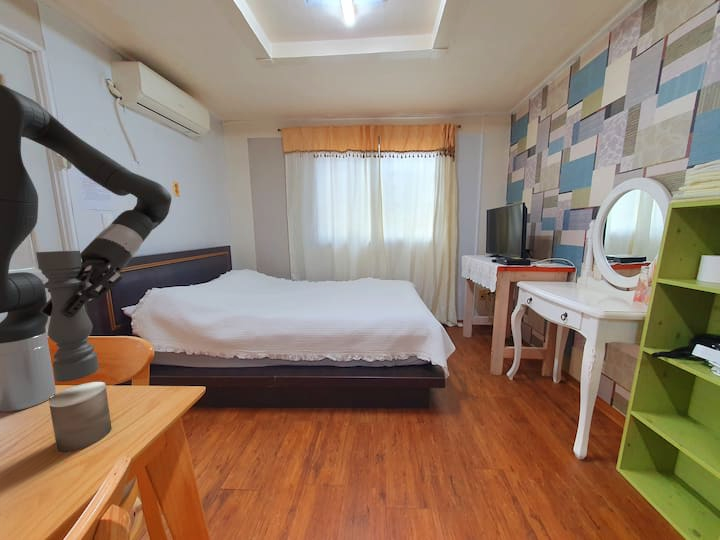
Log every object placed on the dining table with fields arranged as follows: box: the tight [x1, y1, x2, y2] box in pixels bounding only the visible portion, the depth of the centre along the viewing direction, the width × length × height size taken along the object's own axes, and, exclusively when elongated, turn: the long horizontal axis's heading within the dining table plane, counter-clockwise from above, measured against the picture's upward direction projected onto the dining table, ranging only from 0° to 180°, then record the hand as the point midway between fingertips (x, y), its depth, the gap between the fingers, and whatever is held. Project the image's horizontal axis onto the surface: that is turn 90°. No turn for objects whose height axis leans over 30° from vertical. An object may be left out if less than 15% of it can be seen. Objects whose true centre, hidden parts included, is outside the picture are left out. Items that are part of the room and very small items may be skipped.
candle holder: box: [35, 250, 100, 383], centre depth 53 cm, size 6×6×25 cm
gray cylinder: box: [48, 381, 112, 453], centre depth 56 cm, size 8×8×10 cm
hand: (56, 314), depth 51 cm, fingers closed on candle holder, 4 cm apart
